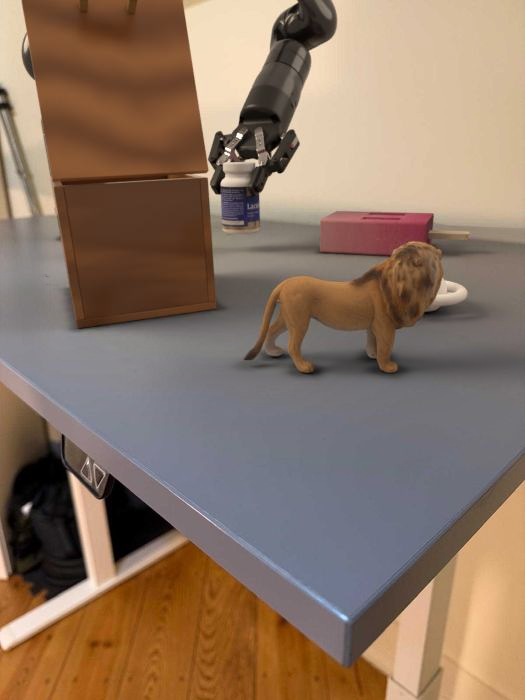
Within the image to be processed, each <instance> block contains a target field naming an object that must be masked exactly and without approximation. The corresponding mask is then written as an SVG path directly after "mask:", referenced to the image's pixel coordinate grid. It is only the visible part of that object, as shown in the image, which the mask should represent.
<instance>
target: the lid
mask: <svg viewBox="0 0 525 700" xmlns="http://www.w3.org/2000/svg"><path fill="white" fill-rule="evenodd" d="M20 1H21V6H22V13H23V19H24V24H25V31H26V32H27V37H28V42H29V48H30V54H31V60H32V66H33V71H34V77H35V80H34V83H35V87H36V88H35V89H36V94H37V100H38V106H39V110H40V111H39V112H40V119H41V118H42V124H43V129H44V134H43V135H45V141H46V147H47V153H48V158H49V164H50V170H51V176H52V181H53V182H63V181H80V180H98V179H115V178H133V177H150V176H168V175H185V174H194V175H200V174H208V172H209V162H208V157H207V151H206V145H205V137H204V130H203V125H202V117H201V111H200V104H199V98H198V92H197V91H198V90H197V85H196V79H195V72H194V65H193V58H192V52H191V46H190V39H189V33H188V26H187V20H186V13H185V6H184V0H20Z"/></svg>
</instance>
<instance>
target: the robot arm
mask: <svg viewBox="0 0 525 700" xmlns="http://www.w3.org/2000/svg"><path fill="white" fill-rule="evenodd" d="M337 29H338V14H337V9H336V7H335V4H334V2H333V0H296V2H295V3H294V4H292V5H291V6H289V7H288V8H286V9H284V10H283V11H282V12H281V13H280V14H279V15H278V16H277V17H276V19H275V21H274V23H273V24H272V28H271V32H270V33H271V34H270V41H269V50H268V51H269V52H268V55H267V57H266V59H265V61H264V63H263V65H262V67H261V70H260V71H259V73H258V74H257V76H256V77H255V79H254V81H253V84H252V85H251V88H250V90H249V93H248V94H247V97H246V99H245V101H244V103H243V106H242V108H241V110H240V112H239V117H238V124H237V126H236V128H234V129H233V130H232V132H231V133H228V134H224V133H223V131H222V130H218V131H216V132H215V134H214V137H213V140H212V144H211V147H210V151H209V154H208V157H207V162H208V163H209V164H210V166H211V167H212V168H213V170H214V171H213V173H212V177H211V179H210V181H209V186H210V188H211V190H212V191H213V193H214V194H215V195H216V196H217V195H219V196H221V181H222V180H223V179H224V178H225V173H224V171H223V163H226V162H246V161H248V160H257V161H258V165H259V166H256V165H255V170H254V172H253V175H252V177H251V179H250V182H249V184H248V190H249V191H250V193H251V195H252V196H258V195H259V196H260V193H262V192H263V191H264V189H265V187H266V184H267V182H268V179H269V177H271V176H272V175H273V174H274V173H277V174H279V175H281V174H283V173H284V172H285V171H286V169H287V167H288V165H289V164H290V162H291V160H292V159H293V157H294V155H295V154H296V152H297V150H298V149H299V147H300V144H301V143H300V140H299V138H298V135H297V133H296V130H295V129H293V128H291V129H289V127H290V125H291V123H292V120H293V117H294V115H295V113H296V110H297V108H298V106H299V103H300V100H301V96H302V91H303V90H304V87H305V84H306V82H307V79H308V77H309V75H310V71H311V68H312V63H313V62H312V56H311V55H312V54H311V52H310V51H312V50H313V49H316V48H318V47H320V46H321V45H324V44H325V43H327V42H329V41H330V40H332V39H333V37H334V36H335V35H336V32H337ZM21 42H22V43H21V60H22V64H23V66H24V69H25V71H26V73H27V75H28V76H29V77H30V78H31V79H32V80H33V81H35V77H34V71H33V66H32V60H31V54H30V48H29V42H28V37H27V31H26V32H25V34H24V37H23V39H22V41H21ZM40 126H41V131H42V138H43V143H44V148H45V155H46V160H47V166H48V173H49V179H51V170H50V164H49V158H48V153H47V147H46V141H45V135H44V129H43V124H42V118H41V117H40ZM275 149H276V150H275ZM274 150H275V151H274ZM273 151H274V153H273ZM236 153H237V154H238V155H237V154H236ZM229 160H230V161H229ZM50 184H51V185H52V183H51V182H50ZM51 189H52V188H51ZM52 191H53V189H52ZM52 195H53V194H52ZM53 197H54V195H53ZM53 201H54V200H53ZM54 203H55V201H54ZM53 210H54V214H56V215H57V213H56V207H55V206H54V207H53ZM56 219H57V221H58V218H57V217H56ZM57 225H58V227H59V224H58V223H57ZM58 235H59V238H60V239H61V236H60V230H59V229H58Z"/></svg>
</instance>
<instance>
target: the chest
mask: <svg viewBox="0 0 525 700" xmlns="http://www.w3.org/2000/svg"><path fill="white" fill-rule="evenodd" d="M51 183H52V184H51ZM50 184H51V189H53V190H52V195H54V196H53V201H55V202H54V207H56V213H57V214H56V219H57V218H58V220H57V225H58V224H59V226H58V231H59V230H60V231H59V232H60V235H59V237H60V236H61V238H60V241H61V247H62V253H63V258H64V264H65V271H66V276H67V277H66V278H67V283H68V288H69V294H70V298H71V304H72V308H73V313H74V319H75V323H76V328H77V329H84V328H91V327H98V326H105V325H111V324H119V323H127V322H132V321H140V320H148V319H153V318H160V317H168V316H174V315H175V316H176V315H183V314H188V313H189V314H190V313H196V312H203V311H212V310H217V295H216V279H215V265H214V251H213V235H212V220H211V219H212V218H211V206H210V205H211V203H210V190H209V178H208V177H207V176H202V175H199V174H185V175H168V176H150V177H133V178H115V179H98V180H80V181H63V182H53V181H52V176H51V178H50Z"/></svg>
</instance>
